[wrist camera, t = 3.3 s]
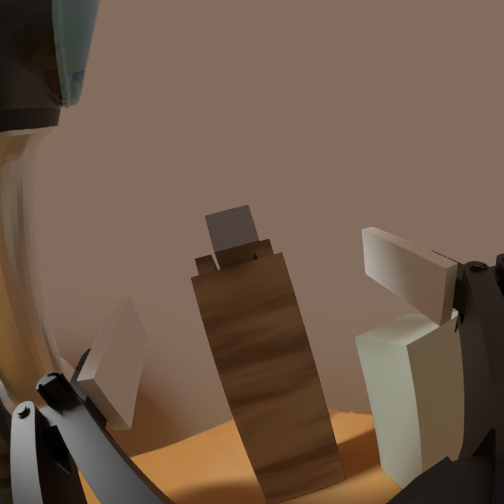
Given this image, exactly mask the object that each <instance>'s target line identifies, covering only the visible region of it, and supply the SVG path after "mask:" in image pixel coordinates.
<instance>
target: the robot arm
mask: <svg viewBox="0 0 504 504" xmlns="http://www.w3.org/2000/svg"><path fill="white" fill-rule="evenodd" d="M99 2H100V0H0V504H87V501H86V497H85V494H84V491H83V488H82V484H81V481H80V477H79V474H78V470H77V466H78V468H79V470H80V471H81V473H82V475H83V476H84V478H85V480H86V481H87V483H88V484H89V486H90V488H91V489H92V491H93V492H94V494H95V495H96V497H97V498H98V500H99V501H100V503H101V504H175V503H174V502H173V501H171V500H170V499H169V498H168V497H167V496H166V495H165V494H164V493H163V492H162V491H161V490H160V489H159V488H158V487H157V486H156V485H155V484H154V483H153V482H152V481H151V480H150V479H149V478H148V477H147V476H146V475H145V474H144V473H143V472H142V471H141V470H140V469H139V468H138V467H137V466H136V465H135V463H134V462H133V461H132V460H131V459H130V458H129V457H128V455H127V454H126V453H125V452H124V451H123V450H122V449H121V447H120V446H119V445H118V444H117V442H116V441H115V440H114V439H113V437H112V436H111V435H110V433H109V432H108V431H107V430H106V429H105V428H106V423H107V422H108V423H109V424H110V425H111V426H112V428H113V429H114V430H123V429H131V425H132V419H133V413H134V407H135V401H136V395H137V390H138V384H139V379H140V374H141V369H142V364H143V360H144V354H145V350H146V346H147V341H148V336H147V334H146V331H145V329H144V327H143V325H142V323H141V321H140V318H139V316H138V314H137V312H136V310H135V307H134V305H133V302H132V300H131V298H130V295H127V296H124V297H120V298H117V299H116V301H115V303H114V305H113V307H112V309H111V310H110V312H109V314H108V316H107V318H106V320H105V322H104V324H103V326H102V328H101V330H100V332H99V334H98V336H97V338H96V340H95V342H94V344H93V346H92V348H91V349H88V350H87V351H86V352H85V353H84V354H83V356H82V357H81V359H80V361H79V363H78V364H79V365H77V367H76V371H74V369H73V368H72V366H71V365H70V364H69V363H68V362H67V361H66V360H64V359H63V358H61V357H60V356H59V352H58V349H57V345H56V342H55V338H54V334H53V330H52V326H51V322H50V318H49V313H48V309H47V304H46V298H45V293H44V287H43V281H42V274H41V268H40V260H39V250H38V239H37V224H36V165H37V154H38V151H39V149H40V147H41V146H42V145H43V144H44V142H45V141H46V140H47V139H48V138H49V137H50V136H51V135H52V134H53V133H54V132H55V131H56V130H57V128H58V121H59V115H60V109H61V107H63V106H64V107H66V108H68V107H69V106H73V105H75V104H77V103H78V101H79V100H80V97H81V92H82V88H83V81H84V75H85V67H86V64H87V60H88V56H89V51H90V46H91V41H92V36H93V31H94V26H95V21H96V17H97V12H98V7H99ZM362 237H363V246H364V259H365V273H366V274H367V275H368V276H370V277H371V278H373V279H374V280H376V281H377V282H379V283H380V284H381V285H383V286H384V287H386V288H387V289H389V290H390V291H391V292H393V293H394V294H396V295H397V296H399V297H400V298H401V299H403V300H404V301H406V302H407V303H408V304H410V305H411V306H413V307H414V308H415V309H417V310H418V311H419V312H421V313H422V314H423V315H425V316H426V317H428V318H429V319H430V320H432V321H433V322H434V323H436V324H437V325H438V326H442V325H443V324H445V323H446V322H448V321H450V320H451V316H452V310H453V308H454V309H456V310H457V311H458V315H457V320H456V326H455V331H454V332H457V329H459V336H460V344H461V353H462V364H463V379H464V435H463V444H462V448H461V451H460V454H459V456H458V459H457V460H454V461H451V460H450V458H449V457H448V456H446V457H445V458H444V459H442V460H441V461H439V462H438V463H437V464H435V465H434V466H432V467H431V468H429V469H428V470H426V471H425V472H423V473H422V474H420V475H419V476H417V477H416V478H415V479H414V480H413V481H411V482H410V483H409V484H408V485H407V486H406V487H405V488H404V489H403V490H402V491H400V492H399V493H398V494H397V495H396V496H395V497H394V498H392V499H391V500H390V501H389V502H387V503H386V504H504V254H500V255H498V256H497V259H496V266H492V267H489V266H488V265H486V264H484V263H482V262H478V261H472V262H468V263H466V264H465V265H463V264H461V263H459V262H457V261H455V260H452V259H450V258H447V257H445V256H443V255H441V254H439V253H437V252H435V251H431V250H428V249H426V248H423V247H421V246H419V245H416V244H414V243H411V242H409V241H407V240H404V239H402V238H400V237H397V236H395V235H392V234H390V233H387V232H385V231H382V230H380V229H377V228H375V227H370V228H366V229H363V230H362ZM76 464H77V466H76Z"/></svg>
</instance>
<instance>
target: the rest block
mask: <svg viewBox="0 0 504 504" xmlns="http://www.w3.org/2000/svg"><path fill="white" fill-rule="evenodd" d="M457 315H458V311H456V312H452V316H451V320H450V321H448V322H446V323H445V324H443V325H442V326H438V325H437V324H436V323H434V322H433V321H432V320H430V319H429V318H428V317H426V316H425V315H423V314H405V315H403V316H401V317H399V318H397V319H395V320H393V321H390V322H388V323H386V324H384V325H382V326H379V327H377V328H375V329H373V330H370V331H368V332H366V333H363V334H361V335H358V336H356V337H354V338H355V342H356V346H357V350H358V354H359V358H360V361H361V366H362V370H363V374H364V378H365V383H366V387H367V392H368V396H369V401H370V406H371V411H372V416H373V421H374V426H375V431H376V437H377V443H378V449H379V455H380V461H381V468H382V470H383V471H384V472H385V473H386V474H387V475H388V476H389V477H390V478H391V479H392V480H393V481H395V482H396V483H397V484H398V485H399V486H400V487H401V488H402V489H404V488H405V487H406V486H407V485H408V484H409V483H410V482H411V481H413V480H414V479H415V478H416V477H417V476H419V475H420V474H422V473H423V472H425V471H426V470H428V469H429V468H431V467H432V466H434V465H435V464H437V463H438V462H439V461H441V460H442V459H444V458H445V457H446V456H448V457H449V458H450V460H451V461H454V460H457V459H458V456H459V454H460V451H461V448H462V444H463V435H464V379H463V364H462V353H461V344H460V336H459V329H457V332H454V331H455V326H456V320H457Z"/></svg>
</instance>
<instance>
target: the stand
mask: <svg viewBox="0 0 504 504" xmlns="http://www.w3.org/2000/svg"><path fill="white" fill-rule="evenodd" d="M195 261H196V266H197V269H198V273H199V275H198V276H194V277H191V280H192V284H193V288H194V292H195V295H196V299H197V303H198V306H199V310H200V314H201V317H202V321H203V324H204V327H205V331H206V335H207V338H208V341H209V345H210V348H211V351H212V354H213V357H214V361H215V364H216V367H217V370H218V374H219V377H220V380H221V383H222V386H223V389H224V392H225V395H226V398H227V400H228V403H229V406H230V409H231V412H232V415H233V418H234V420H235V423H236V426H237V429H238V431H239V434H240V437H241V439H242V442H243V445H244V447H245V450H246V452H247V455H248V458H249V460H250V463H251V465H252V468H253V470H254V472H255V475H256V477H257V480H258V482H259V484H260V487H261V489H262V491H263V494H264V496H265V498H266V501H267V503H268V504H273V503H277V502H280V501H284V500H288V499H291V498H295V497H298V496H301V495H304V494H307V493H310V492H313V491H316V490H319V489H322V488H325V487H327V486H330V485H333V484H335V483H338V482H340V481H343V480H345V477H344V473H343V468H342V464H341V460H340V456H339V452H338V448H337V444H336V440H335V436H334V432H333V428H332V424H331V421H330V417H329V413H328V409H327V405H326V402H325V398H324V394H323V390H322V387H321V383H320V379H319V376H318V372H317V369H316V365H315V361H314V358H313V354H312V351H311V347H310V344H309V340H308V337H307V334H306V330H305V327H304V324H303V320H302V316H301V313H300V310H299V307H298V303H297V300H296V296H295V293H294V290H293V286H292V283H291V280H290V277H289V273H288V270H287V267H286V264H285V260H284V257H283V254H282V252H281V253H278V254H274V253H273V250H272V247H271V243H270V240H269V239H266V240H263V241H259V242H258V245H257V248H256V252H255V255H254V258H253V261H249V262H245V263H242V264H238V265H235V266H231V267H227V268H224V269H220V270H218V269H217V267H216V265H215V262H214V260H213V258H212V255H207V256H204V257H200V258H197V259H195Z"/></svg>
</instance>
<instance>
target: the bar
mask: <svg viewBox="0 0 504 504" xmlns="http://www.w3.org/2000/svg"><path fill="white" fill-rule="evenodd" d="M205 218H206V222H207V225H208V230H209V234H210V237H211V241H212V245H213V249H214V252H215V255H216V258H217V261H218V263H219V266H220V269H224V268H227V267H231V266H235V265H238V264H242V263H245V262H249V261H253V258H254V255H255V252H256V248H257V245H258V242H259V239H258V235H257V232H256V228H255V225H254V222H253V219H252V216H251V212H250V209H249V206H248V205H245V206H241V207H237V208H233V209H230V210H225V211H222V212H218V213H214V214H210V215H207V216H205Z"/></svg>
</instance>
